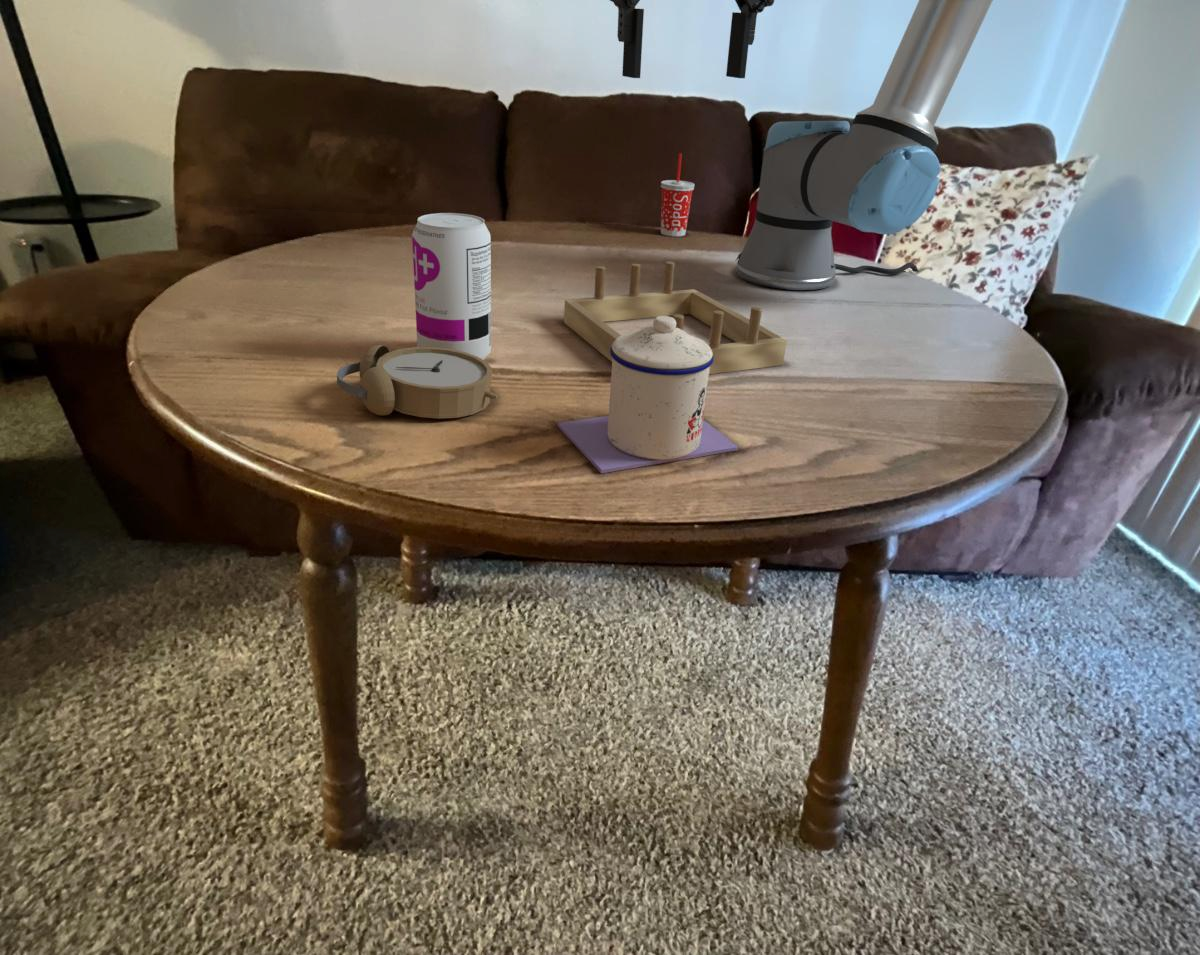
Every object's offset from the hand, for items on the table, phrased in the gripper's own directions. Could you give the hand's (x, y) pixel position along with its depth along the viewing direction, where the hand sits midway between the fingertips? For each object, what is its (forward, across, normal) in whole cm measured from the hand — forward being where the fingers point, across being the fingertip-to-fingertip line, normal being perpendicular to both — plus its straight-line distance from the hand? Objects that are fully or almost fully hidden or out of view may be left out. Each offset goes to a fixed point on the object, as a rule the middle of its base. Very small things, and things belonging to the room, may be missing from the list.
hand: (684, 77), depth 94 cm
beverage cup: (+30, -29, -47) cm, 63 cm away
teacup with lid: (+28, +18, +28) cm, 43 cm away
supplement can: (+29, +28, +1) cm, 40 cm away
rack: (+29, +3, +5) cm, 30 cm away
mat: (+29, +18, +28) cm, 44 cm away
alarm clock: (+28, +36, +12) cm, 47 cm away
